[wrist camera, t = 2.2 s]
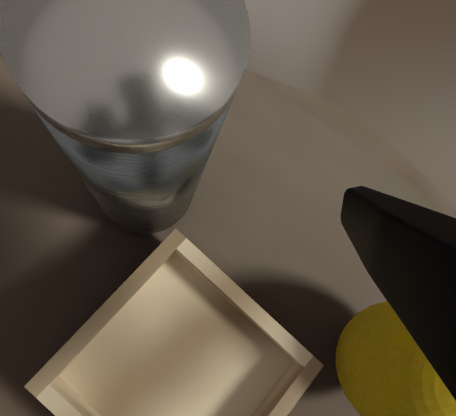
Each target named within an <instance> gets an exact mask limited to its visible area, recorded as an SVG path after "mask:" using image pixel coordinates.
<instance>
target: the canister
mask: <svg viewBox="0 0 456 416" xmlns="http://www.w3.org/2000/svg"><path fill="white" fill-rule="evenodd" d="M249 49H250V23H249V16H248V13H247V9H246V6H245V2H244V0H0V54H1V57H2V59H3V61H4V63H5V65H6V67H7V69H8V71H9V73H10V75H11V76H12V78H13V79H14V81H15V82H16V83H17V85H18V86H19V88H20V89H21V91H22V92H23V94H24V95H25V97H26V98H27V100H28V101H29V103H30V104H31V106H32V107H33V108H34V110H35V111H36V113H37V114H38V116H39V117H40V119H41V120H42V122H43V123H44V125H45V126H46V128H47V129H48V131H49V132H50V133H51V135H52V136H53V138H54V139H55V141H56V142H57V144H58V145H59V147H60V148H61V150H62V151H63V153H64V154H65V156H66V157H67V158H68V160H69V161H70V163H71V164H72V166H73V167H74V169H75V170H76V172H77V173H78V175H79V176H80V178H81V179H82V180H83V182H84V183H85V185H86V186H87V188H88V189H89V191H90V192H91V194H92V195H93V197H94V198H95V200H96V201H97V203H98V204H99V205H100V207H101V208H102V210H103V211H104V213H105V214H106V216H107V217H108V218H109V219H110V220H111V221H112V222H114V223H115V224H116V225H118V226H119V227H121V228H123V229H125V230H127V231H131V232H135V233H144V234H147V233H155V232H159V231H162V230H165V229H167V228H169V227H171V226H172V225H174V224H175V223H176V222H177V221H178V220H180V219H181V217H182V216H183V215H184V214H185V212H186V211H187V209H188V207H189V205H190V202H191V200H192V197H193V195H194V192H195V190H196V188H197V185H198V183H199V180H200V178H201V175H202V173H203V170H204V168H205V166H206V163H207V161H208V158H209V156H210V153H211V151H212V148H213V146H214V144H215V141H216V139H217V136H218V134H219V131H220V129H221V126H222V124H223V122H224V119H225V117H226V114H227V112H228V109H229V107H230V104H231V102H232V99H233V97H234V95H235V92H236V90H237V87H238V85H239V82H240V80H241V77H242V75H243V73H244V70H245V67H246V63H247V60H248V56H249Z"/></svg>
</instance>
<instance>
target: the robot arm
mask: <svg viewBox="0 0 456 416" xmlns="http://www.w3.org/2000/svg"><path fill="white" fill-rule="evenodd" d="M341 222H342V225H343V227H344V229H345V231H346V233H347V234H348V236H349V238H350V240H351V242H352V244H353V246H354V248H355V249H356V251H357V253H358V255H359V257H360V259H361V261H362V263H363V264H364V266H365V268H366V270H367V271H368V273H369V275H370V276H371V278H372V279H373V281H374V282H375V284H376V285H377V287H378V288H379V290H380V291H381V292H382V294H383V295H384V297H385V298H386V300H387V301H388V303H389V304H390V306H391V307H392V309H393V310H394V311H395V313H396V314H397V316H398V317H399V319H400V320H401V322H402V323H403V325H404V326H405V328H406V329H407V330H408V332H409V333H410V335H411V336H412V338H413V339H414V341H415V342H416V344H417V345H418V346H419V348H420V349H421V351H422V352H423V354H424V355H425V357H426V358H427V360H428V361H429V363H430V364H431V365H432V367H433V368H434V370H435V371H436V373H437V374H438V376H439V377H440V379H441V380H442V382H443V383H444V384H445V386H446V387H447V389H448V390H449V392H450V393H451V395H452V396H453V398H454V399H455V401H456V218H454V217H451V216H448V215H445V214H442V213H439V212H436V211H433V210H431V209H428V208H425V207H422V206H419V205H416V204H413V203H410V202H407V201H405V200H402V199H399V198H396V197H393V196H390V195H387V194H384V193H382V192H379V191H376V190H373V189H370V188H367V187H364V186H358V187H353V188H349V189H347V190H346V191H345V193H344V198H343V204H342V210H341Z"/></svg>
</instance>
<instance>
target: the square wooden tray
mask: <svg viewBox="0 0 456 416" xmlns="http://www.w3.org/2000/svg"><path fill="white" fill-rule="evenodd" d="M323 366H324V365H323V364H322V363H321V362H320V361H319V360H317V359H316V358H315V357H314V356H313V355H312V354H311V353H310V352H309V351H308V350H307V349H306V348H304V347H303V346H302V345H301V344H300V343H299V342H298V341H297V340H296V339H295V338H294V337H293V336H292V335H290V334H289V333H288V332H287V331H286V330H285V329H284V328H283V327H282V326H281V325H280V324H279V323H278V322H276V321H275V320H274V319H273V318H272V317H271V316H270V315H269V314H268V313H267V312H266V311H265V310H263V309H262V308H261V307H260V306H259V305H258V304H257V303H256V302H255V301H254V300H253V299H252V298H251V297H249V296H248V295H247V294H246V293H245V292H244V291H243V290H242V289H241V288H240V287H239V286H238V285H236V284H235V283H234V282H233V281H232V280H231V279H230V278H229V277H228V276H227V275H226V274H225V273H224V272H222V271H221V270H220V269H219V268H218V267H217V266H216V265H215V264H214V263H213V262H212V261H211V260H210V259H208V258H207V257H206V256H205V255H204V254H203V253H202V252H201V251H200V250H199V249H198V248H197V247H195V246H194V245H193V244H192V243H191V242H190V241H189V240H188V239H187V238H186V237H185V236H184V235H183V234H181V233H180V232H179V231H178V230H177V229H175V230H174V231H173V232H172V233H171V234H170V235H169V236H168V237H167V238H166V239H165V240H164V241H163V242H162V243H161V244H160V245H159V246H158V247H157V248H156V249H155V250H154V251H153V253H152V254H151V255H150V256H149V257H148V258H147V259H146V260H145V261H144V262H143V263H142V264H141V265H140V266H139V267H138V268H137V269H136V270H135V271H134V272H133V273H132V274H131V275H130V277H129V278H128V279H127V280H126V281H125V282H124V283H123V284H122V285H121V286H120V287H119V288H118V289H117V290H116V291H115V292H114V293H113V294H112V295H111V296H110V297H109V298H108V299H107V301H106V302H105V303H104V304H103V305H102V306H101V307H100V308H99V309H98V310H97V311H96V312H95V313H94V314H93V315H92V316H91V317H90V318H89V319H88V320H87V321H86V322H85V323H84V325H83V326H82V327H81V328H80V329H79V330H78V331H77V332H76V333H75V334H74V335H73V336H72V337H71V338H70V339H69V340H68V341H67V342H66V343H65V344H64V345H63V346H62V347H61V349H60V350H59V351H58V352H57V353H56V354H55V355H54V356H53V357H52V358H51V359H50V360H49V361H48V362H47V363H46V364H45V365H44V366H43V367H42V368H41V369H40V370H39V371H38V373H37V374H36V375H35V376H34V377H33V378H32V379H31V380H30V381H29V382H28V383H27V384H26V385H25V386H24V387H25V388H26V389H27V390H28V391H29V392H30V393H31V394H32V395H33V396H35V397H36V398H37V399H38V400H39V401H40V402H41V403H42V404H43V405H44V406H45V407H46V408H47V409H48V410H50V411H51V412H52V413H53V414H54V415H55V416H287V415H288V414H289V412H290V411H291V410H292V408H293V407H294V406H295V404H296V403H297V402H298V400H299V399H300V397H301V396H302V395H303V393H304V392H305V391H306V389H307V388H308V386H309V385H310V384H311V382H312V381H313V380H314V378H315V377H316V376H317V374H318V373H319V371H320V370H321V369H322V367H323Z"/></svg>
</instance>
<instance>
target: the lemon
mask: <svg viewBox="0 0 456 416" xmlns="http://www.w3.org/2000/svg"><path fill="white" fill-rule="evenodd" d="M336 368H337V374H338V379H339V382H340V384H341V386H342V389H343V391H344V393H345V395H346V397H347V398H348V400H349V401H350V402H351V404H352V405H353V407H354V408H355V409H356V411H357V412H358V413H359V414H360V415H361V416H456V401H455V399H454V398H453V396H452V395H451V393H450V392H449V390H448V389H447V387H446V386H445V384H444V383H443V382H442V380H441V379H440V377H439V376H438V374H437V373H436V371H435V370H434V368H433V367H432V365H431V364H430V363H429V361H428V360H427V358H426V357H425V355H424V354H423V352H422V351H421V349H420V348H419V346H418V345H417V344H416V342H415V341H414V339H413V338H412V336H411V335H410V333H409V332H408V330H407V329H406V328H405V326H404V325H403V323H402V322H401V320H400V319H399V317H398V316H397V314H396V313H395V311H394V310H393V309H392V307H391V306H390V304H389V303H388V301H387V302H383V303H379V304H375V305H371V306H369V307H368V308H366V309H364V310H362V311H361V312H359V313H357V314H356V315H355V316H354V317H353V318H352V319H351V320H350V321H349V322H348V323H347V324H346V326H345V328H344V330H343V331H342V333H341V335H340V337H339V341H338V344H337V348H336Z"/></svg>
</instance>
